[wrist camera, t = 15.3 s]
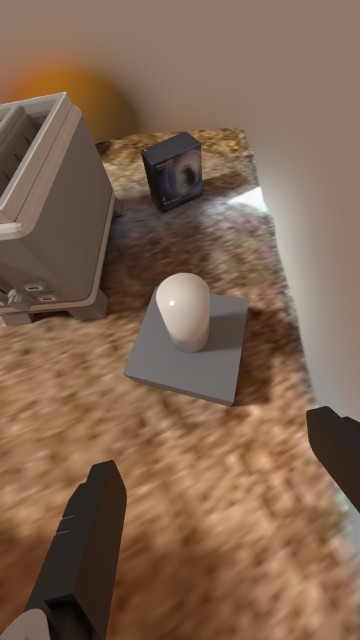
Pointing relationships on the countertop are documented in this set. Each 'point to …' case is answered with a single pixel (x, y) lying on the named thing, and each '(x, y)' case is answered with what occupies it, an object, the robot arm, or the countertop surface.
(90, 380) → the countertop surface
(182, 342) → the beige piece
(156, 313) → the plinth
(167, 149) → the small box
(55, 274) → the toaster
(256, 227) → the countertop surface
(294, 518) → the countertop surface
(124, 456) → the countertop surface
